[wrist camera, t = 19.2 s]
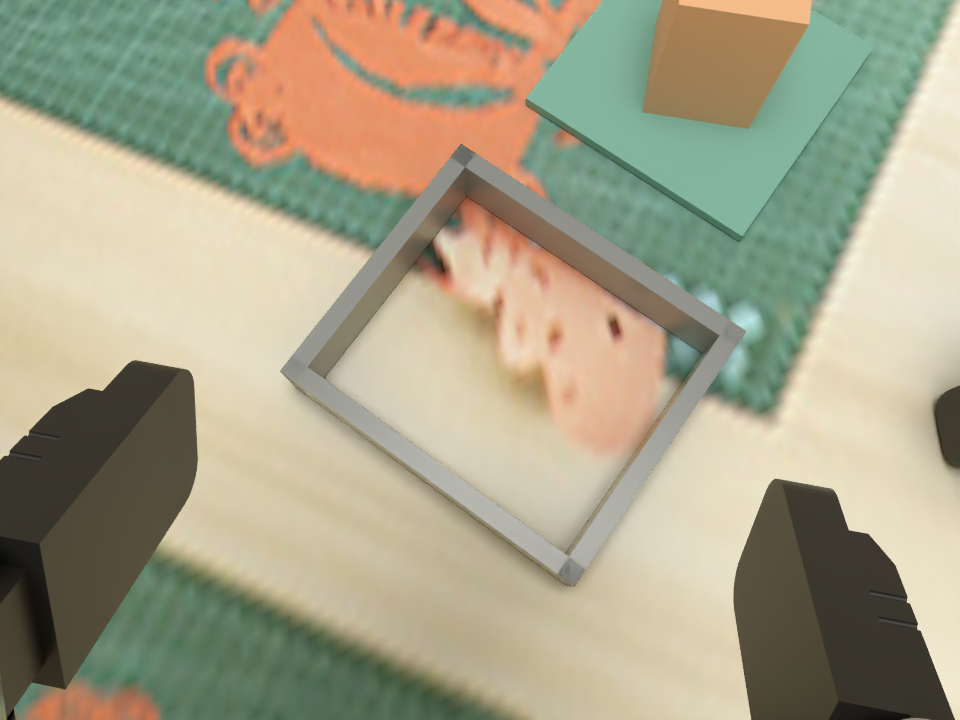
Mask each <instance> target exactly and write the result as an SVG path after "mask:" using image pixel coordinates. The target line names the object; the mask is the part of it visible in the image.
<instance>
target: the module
mask: <svg viewBox="0 0 960 720" xmlns="http://www.w3.org/2000/svg"><path fill="white" fill-rule="evenodd" d="M811 3H812V0H663V1H662V4H661V7H660V11H659V14H658V17H657V20H656V27H655V33H654V40H653V47H652V53H651V60H650V66H649V73H648V79H647V86H646V93H645V99H644V106H643V112H645V113H652V114H658V115H664V116H670V117H677V118H683V119H689V120H695V121H702V122H708V123H714V124H721V125H727V126H733V127H739V128H746V129H749V127H750V126H751V124H752V122H753V120H754V119H755V117H756V115H757V113H758V112H759V110H760V108H761V107H762V105H763V103H764V101H765V100H766V98H767V96H768V95H769V93H770V91H771V89H772V88H773V86H774V84H775V83H776V81H777V79H778V77H779V76H780V74H781V72H782V70H783V69H784V67H785V65H786V64H787V62H788V60H789V58H790V57H791V55H792V53H793V52H794V50H795V48H796V46H797V45H798V43H799V41H800V40H801V38H802V36H803V34H804V33H805V31H806V29H807V28H808V26H809V22H810V12H811Z"/></svg>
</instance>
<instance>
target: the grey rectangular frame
mask: <svg viewBox="0 0 960 720" xmlns="http://www.w3.org/2000/svg"><path fill="white" fill-rule="evenodd" d="M466 196H467V197H468V198H470V199H471V200H473V201H474V202H476V203H477V204H479V205H480V206H482V207H483V208H485V209H486V210H488V211H489V212H491V213H492V214H494V215H495V216H497V217H498V218H500V219H501V220H503V221H504V222H506V223H507V224H509V225H510V226H512V227H513V228H515V229H516V230H518V231H519V232H521V233H522V234H524V235H525V236H527V237H528V238H530V239H531V240H533V241H534V242H536V243H537V244H539V245H540V246H542V247H543V248H545V249H546V250H548V251H549V252H551V253H552V254H554V255H555V256H557V257H558V258H560V259H561V260H563V261H564V262H566V263H567V264H569V265H570V266H572V267H573V268H575V269H576V270H578V271H579V272H581V273H582V274H584V275H585V276H587V277H588V278H590V279H591V280H593V281H594V282H596V283H597V284H599V285H600V286H602V287H603V288H605V289H606V290H608V291H609V292H611V293H612V294H614V295H615V296H617V297H618V298H620V299H621V300H623V301H624V302H626V303H627V304H629V305H630V306H632V307H633V308H635V309H636V310H638V311H639V312H641V313H642V314H644V315H645V316H647V317H648V318H650V319H651V320H653V321H654V322H656V323H657V324H659V325H660V326H662V327H663V328H665V329H666V330H668V331H669V332H671V333H672V334H674V335H675V336H677V337H678V338H680V339H681V340H683V341H684V342H686V343H687V344H689V345H690V346H692V347H693V348H695V349H696V350H698V351H699V352H700V353H702V355H701V356H700V358H699V359H698V361H697V362H696V364H695V365H694V367H693V368H692V370H691V371H690V372H689V374H688V375H687V377H686V378H685V380H684V381H683V383H682V384H681V386H680V387H679V389H678V390H677V391H676V393H675V394H674V396H673V397H672V399H671V400H670V402H669V403H668V405H667V406H666V408H665V409H664V410H663V412H662V413H661V415H660V416H659V418H658V419H657V421H656V422H655V424H654V425H653V427H652V428H651V430H650V431H649V432H648V434H647V435H646V437H645V438H644V440H643V441H642V443H641V444H640V446H639V447H638V449H637V450H636V451H635V453H634V454H633V456H632V457H631V459H630V460H629V462H628V463H627V465H626V466H625V468H624V469H623V471H622V472H621V473H620V475H619V476H618V478H617V479H616V481H615V482H614V484H613V485H612V487H611V488H610V490H609V491H608V492H607V494H606V495H605V497H604V498H603V500H602V501H601V503H600V504H599V506H598V507H597V509H596V510H595V512H594V513H593V514H592V516H591V517H590V519H589V520H588V522H587V523H586V525H585V526H584V528H583V529H582V531H581V532H580V533H579V535H578V536H577V538H576V539H575V541H574V542H573V544H572V545H571V547H570V548H569V550H568V551H567V552H566V554H564V553H563V552H562V551H560V550H559V549H557V548H556V547H555V546H553V545H552V544H551V543H549V542H548V541H546V540H545V539H544V538H542V537H541V536H540V535H538V534H537V533H535V532H534V531H533V530H531V529H530V528H529V527H527V526H526V525H524V524H523V523H522V522H520V521H519V520H518V519H516V518H515V517H513V516H512V515H511V514H509V513H508V512H507V511H505V510H504V509H502V508H501V507H500V506H498V505H497V504H496V503H494V502H493V501H491V500H490V499H489V498H487V497H486V496H484V495H483V494H482V493H480V492H479V491H478V490H476V489H475V488H473V487H472V486H471V485H469V484H468V483H467V482H465V481H464V480H462V479H461V478H460V477H458V476H457V475H456V474H454V473H453V472H451V471H450V470H449V469H447V468H446V467H445V466H443V465H442V464H440V463H439V462H438V461H436V460H435V459H434V458H432V457H431V456H429V455H428V454H427V453H425V452H424V451H423V450H421V449H420V448H418V447H417V446H416V445H414V444H413V443H412V442H410V441H409V440H407V439H406V438H405V437H403V436H402V435H401V434H399V433H398V432H396V431H395V430H394V429H392V428H391V427H390V426H388V425H387V424H385V423H384V422H383V421H381V420H380V419H378V418H377V417H376V416H374V415H373V414H372V413H370V412H369V411H367V410H366V409H365V408H363V407H362V406H361V405H359V404H358V403H356V402H355V401H354V400H352V399H351V398H350V397H348V396H347V395H345V394H344V393H343V392H341V391H340V390H339V389H337V388H336V387H334V386H333V385H332V384H330V383H329V382H328V381H326V380H325V379H324V378H325V376H326V375H327V374H328V373H329V371H330V370H331V369H332V368H333V366H334V365H335V364H336V362H337V361H338V360H339V359H340V357H341V356H342V355H343V353H344V352H345V351H346V350H347V348H348V347H349V346H350V345H351V343H352V342H353V341H354V339H355V338H356V337H357V336H358V334H359V333H360V332H361V330H362V329H363V328H364V327H365V325H366V324H367V323H368V322H369V320H370V319H371V318H372V316H373V315H374V314H375V313H376V311H377V310H378V309H379V308H380V306H381V305H382V304H383V302H384V301H385V300H386V299H387V297H388V296H389V295H390V293H391V292H392V291H393V290H394V288H395V287H396V286H397V285H398V283H399V282H400V281H401V279H402V278H403V277H404V276H405V274H406V273H407V272H408V270H409V269H410V268H411V267H412V265H413V264H414V263H415V262H416V260H417V259H418V258H419V256H420V255H421V254H422V253H423V251H424V250H425V249H426V248H427V246H428V245H429V244H430V242H431V241H432V240H433V239H434V237H435V236H436V235H437V233H438V232H439V231H440V230H441V228H442V227H443V226H444V225H445V223H446V222H447V221H448V219H449V218H450V217H451V216H452V214H453V213H454V212H455V210H456V209H457V208H458V207H459V205H460V204H461V203H462V202H463V200H464V199H465V198H466ZM745 333H746V331H745V330H744V329H742V328H741V327H739V326H738V325H736V324H735V323H733V322H732V321H730V320H728V319H727V318H725V317H724V316H722V315H721V314H719V313H718V312H716V311H715V310H713V309H712V308H710V307H709V306H707V305H706V304H704V303H703V302H701V301H700V300H698V299H697V298H695V297H693V296H692V295H690V294H689V293H687V292H686V291H684V290H683V289H681V288H680V287H678V286H677V285H675V284H674V283H672V282H671V281H669V280H668V279H666V278H665V277H663V276H662V275H660V274H658V273H657V272H655V271H654V270H652V269H651V268H649V267H648V266H646V265H645V264H643V263H642V262H640V261H639V260H637V259H636V258H634V257H633V256H631V255H630V254H628V253H627V252H625V251H624V250H622V249H620V248H619V247H617V246H616V245H614V244H613V243H611V242H610V241H608V240H607V239H605V238H604V237H602V236H601V235H599V234H598V233H596V232H595V231H593V230H592V229H590V228H589V227H587V226H585V225H584V224H582V223H581V222H579V221H578V220H576V219H575V218H573V217H572V216H570V215H569V214H567V213H566V212H564V211H563V210H561V209H560V208H558V207H557V206H555V205H554V204H552V203H550V202H549V201H547V200H546V199H544V198H543V197H541V196H540V195H538V194H537V193H535V192H534V191H532V190H531V189H529V188H528V187H526V186H525V185H523V184H522V183H520V182H519V181H517V180H516V179H514V178H512V177H511V176H509V175H508V174H506V173H505V172H503V171H502V170H500V169H499V168H497V167H496V166H494V165H493V164H491V163H490V162H488V161H487V160H485V159H484V158H482V157H481V156H479V155H477V154H476V153H474V152H473V151H471V150H470V149H468V148H467V147H465V146H464V145H462V144H461V145H460V146H459V147H458V148H457V150H456V151H455V152H454V153H453V155H452V156H451V157H450V158H449V160H448V161H447V162H446V163H445V165H444V166H443V167H442V168H441V170H440V171H439V172H438V173H437V175H436V176H435V177H434V178H433V180H432V181H431V182H430V183H429V185H428V186H427V187H426V188H425V190H424V191H423V192H422V193H421V195H420V196H419V197H418V199H417V200H416V201H415V202H414V204H413V205H412V206H411V207H410V209H409V210H408V211H407V212H406V214H405V215H404V216H403V217H402V219H401V220H400V221H399V222H398V224H397V225H396V226H395V227H394V229H393V230H392V231H391V232H390V234H389V235H388V236H387V237H386V239H385V240H384V241H383V242H382V244H381V245H380V246H379V247H378V249H377V250H376V251H375V252H374V254H373V255H372V256H371V257H370V259H369V260H368V261H367V262H366V264H365V265H364V266H363V267H362V269H361V270H360V271H359V273H358V274H357V275H356V276H355V278H354V279H353V280H352V281H351V283H350V284H349V285H348V286H347V288H346V289H345V290H344V291H343V293H342V294H341V295H340V296H339V298H338V299H337V300H336V301H335V303H334V304H333V305H332V306H331V308H330V309H329V310H328V311H327V313H326V314H325V315H324V316H323V318H322V319H321V320H320V321H319V323H318V324H317V325H316V326H315V328H314V329H313V330H312V331H311V333H310V334H309V335H308V336H307V338H306V339H305V340H304V342H303V343H302V344H301V345H300V347H299V348H298V349H297V350H296V352H295V353H294V354H293V355H292V357H291V358H290V359H289V360H288V362H287V363H286V364H285V365H284V367H283V368H282V369H281V370H280V372H281V373H282V374H283V375H284V376H285V377H286V378H287V379H288V380H289V381H290V382H291V383H292V384H293V385H294V386H295V387H296V388H298V389H299V390H300V391H302V392H303V393H304V394H306V395H307V396H308V397H310V398H311V399H313V400H314V401H315V402H317V403H318V404H319V405H321V406H322V407H323V408H325V409H326V410H328V411H329V412H330V413H332V414H333V415H334V416H336V417H337V418H339V419H340V420H341V421H343V422H344V423H345V424H347V425H348V426H349V427H351V428H352V429H354V430H355V431H356V432H358V433H359V434H360V435H362V436H363V437H364V438H366V439H367V440H369V441H370V442H371V443H373V444H374V445H375V446H377V447H378V448H379V449H381V450H382V451H384V452H385V453H386V454H388V455H389V456H390V457H392V458H393V459H394V460H396V461H397V462H399V463H400V464H401V465H403V466H404V467H405V468H407V469H408V470H409V471H411V472H412V473H414V474H415V475H416V476H418V477H419V478H420V479H422V480H423V481H425V482H426V483H427V484H429V485H430V486H431V487H433V488H434V489H435V490H437V491H438V492H440V493H441V494H442V495H444V496H445V497H446V498H448V499H449V500H450V501H452V502H453V503H455V504H456V505H457V506H459V507H460V508H461V509H463V510H464V511H465V512H467V513H468V514H470V515H471V516H472V517H474V518H475V519H476V520H478V521H479V522H480V523H482V524H483V525H485V526H486V527H487V528H489V529H490V530H491V531H493V532H494V533H495V534H497V535H498V536H500V537H501V538H502V539H504V540H505V541H506V542H508V543H509V544H511V545H512V546H513V547H515V548H516V549H517V550H519V551H520V552H521V553H523V554H524V555H526V556H527V557H528V558H530V559H531V560H532V561H534V562H535V563H536V564H538V565H539V566H541V567H542V568H543V569H545V570H546V571H547V572H549V573H550V574H551V575H553V576H554V577H556V578H557V579H558V580H560V581H561V582H562V583H564V584H565V585H566V586H575V584H576V583H577V581H578V580H579V579H580V577H581V576H582V574H583V573H584V571H585V570H586V568H587V567H588V565H589V564H590V562H591V561H592V559H593V558H594V556H595V555H596V553H597V552H598V550H599V549H600V547H601V546H602V544H603V543H604V541H605V540H606V539H607V537H608V536H609V534H610V533H611V531H612V530H613V528H614V527H615V525H616V524H617V522H618V521H619V519H620V518H621V516H622V515H623V513H624V512H625V510H626V509H627V507H628V506H629V504H630V503H631V501H632V500H633V499H634V497H635V496H636V494H637V493H638V491H639V490H640V488H641V487H642V485H643V484H644V482H645V481H646V479H647V478H648V476H649V475H650V473H651V472H652V470H653V469H654V467H655V466H656V464H657V463H658V461H659V460H660V459H661V457H662V456H663V454H664V453H665V451H666V450H667V448H668V447H669V445H670V444H671V442H672V441H673V439H674V438H675V436H676V435H677V433H678V432H679V430H680V429H681V427H682V426H683V424H684V423H685V421H686V420H687V419H688V417H689V416H690V414H691V413H692V411H693V410H694V408H695V407H696V405H697V404H698V402H699V401H700V399H701V398H702V396H703V395H704V393H705V392H706V390H707V389H708V387H709V386H710V384H711V383H712V382H713V380H714V379H715V377H716V376H717V374H718V373H719V371H720V370H721V368H722V367H723V365H724V364H725V362H726V361H727V359H728V358H729V356H730V355H731V353H732V352H733V350H734V349H735V347H736V346H737V344H738V343H739V342H740V340H741V339H742V337H743V336H744V334H745Z"/></svg>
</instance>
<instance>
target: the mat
mask: <svg viewBox="0 0 960 720" xmlns="http://www.w3.org/2000/svg"><path fill="white" fill-rule="evenodd" d="M662 1H663V0H603V1H602V3H601V4H600V5H599V6H598V8H597V9H596V10H595V11H594V13H593V14H592V15H591V16H590V18H589V19H588V20H587V22H586V23H585V24H584V25H583V27H582V28H581V29H580V30H579V32H578V33H577V34H576V35H575V37H574V38H573V39H572V41H571V42H570V43H569V44H568V46H567V47H566V48H565V49H564V51H563V52H562V53H561V54H560V56H559V57H558V58H557V60H556V61H555V62H554V63H553V65H552V66H551V67H550V68H549V70H548V71H547V72H546V74H545V75H544V76H543V77H542V79H541V80H540V81H539V82H538V84H537V85H536V86H535V87H534V89H533V90H532V91H531V93H530V94H529V95H528V96H527V98H526V105H527V106H528V107H530V108H531V109H533V110H535V111H536V112H538V113H539V114H541V115H542V116H544V117H545V118H547V119H549V120H550V121H552V122H553V123H555V124H556V125H558V126H560V127H561V128H563V129H564V130H566V131H567V132H569V133H570V134H572V135H574V136H575V137H577V138H578V139H580V140H581V141H583V142H584V143H586V144H588V145H589V146H591V147H592V148H594V149H595V150H597V151H599V152H600V153H602V154H603V155H605V156H606V157H608V158H609V159H611V160H613V161H614V162H616V163H617V164H619V165H620V166H622V167H623V168H625V169H627V170H628V171H630V172H631V173H633V174H634V175H636V176H638V177H639V178H641V179H642V180H644V181H645V182H647V183H648V184H650V185H652V186H653V187H655V188H656V189H658V190H659V191H661V192H662V193H664V194H666V195H667V196H669V197H670V198H672V199H673V200H675V201H677V202H678V203H680V204H681V205H683V206H684V207H686V208H687V209H689V210H691V211H692V212H694V213H695V214H697V215H698V216H700V217H702V218H703V219H705V220H706V221H708V222H709V223H711V224H712V225H714V226H716V227H717V228H719V229H720V230H722V231H723V232H725V233H726V234H728V235H730V236H731V237H733V238H734V239H736V240H737V241H739V240H740V239H741V238H742V236H743V235H744V234H745V232H746V231H747V229H748V228H749V226H750V225H751V223H752V222H753V221H754V219H755V218H756V216H757V215H758V213H759V212H760V211H761V209H762V208H763V206H764V205H765V203H766V202H767V200H768V199H769V198H770V196H771V195H772V193H773V192H774V190H775V189H776V187H777V186H778V185H779V183H780V182H781V180H782V179H783V177H784V176H785V175H786V173H787V172H788V170H789V169H790V167H791V166H792V164H793V163H794V162H795V160H796V159H797V157H798V156H799V154H800V153H801V152H802V150H803V149H804V147H805V146H806V144H807V143H808V141H809V140H810V139H811V137H812V136H813V134H814V133H815V131H816V130H817V128H818V127H819V126H820V124H821V123H822V121H823V120H824V118H825V117H826V116H827V114H828V113H829V111H830V110H831V108H832V107H833V105H834V104H835V103H836V101H837V100H838V98H839V97H840V95H841V94H842V92H843V91H844V90H845V88H846V87H847V85H848V84H849V82H850V81H851V80H852V78H853V77H854V75H855V74H856V72H857V71H858V69H859V68H860V67H861V65H862V64H863V62H864V61H865V59H866V58H867V56H868V55H869V54H870V52H871V51H872V49H873V48H874V46H873V45H871V44H869V43H868V42H866V41H864V40H862V39H861V38H859V37H857V36H856V35H854V34H852V33H851V32H849V31H847V30H845V29H844V28H842V27H840V26H839V25H837V24H835V23H834V22H832V21H830V20H828V19H827V18H825V17H823V16H822V15H820V14H818V13H817V12H815V11H813V10H811V12H810V22H809V26H808V28H807V29H806V31H805V33H804V34H803V36H802V38H801V40H800V41H799V43H798V45H797V46H796V48H795V50H794V52H793V53H792V55H791V57H790V58H789V60H788V62H787V64H786V65H785V67H784V69H783V70H782V72H781V74H780V76H779V77H778V79H777V81H776V83H775V84H774V86H773V88H772V89H771V91H770V93H769V95H768V96H767V98H766V100H765V101H764V103H763V105H762V107H761V108H760V110H759V112H758V113H757V115H756V117H755V119H754V120H753V122H752V124H751V126H750V127H749V129H746V128H739V127H733V126H727V125H721V124H714V123H708V122H702V121H695V120H689V119H683V118H677V117H670V116H664V115H658V114H652V113H645V112H643V106H644V99H645V93H646V86H647V79H648V73H649V66H650V60H651V53H652V47H653V40H654V33H655V27H656V20H657V17H658V14H659V11H660V7H661V4H662Z"/></svg>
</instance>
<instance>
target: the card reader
mask: <svg viewBox="0 0 960 720" xmlns="http://www.w3.org/2000/svg"><path fill="white" fill-rule="evenodd" d="M936 418H937V423H938V428H939V433H940V438H941V443H942V448H943V453H944V455H945V456H946V458H947V459H948V461H949V462H950V463H951V464H952V465H954V466H956V467H958V468H960V385H959V386H957V387H955V388H953V389H950V390H948V391H947V392H945V393H944V394H943V395H941V397H940V399H939V401H938V404H937V409H936Z"/></svg>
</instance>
